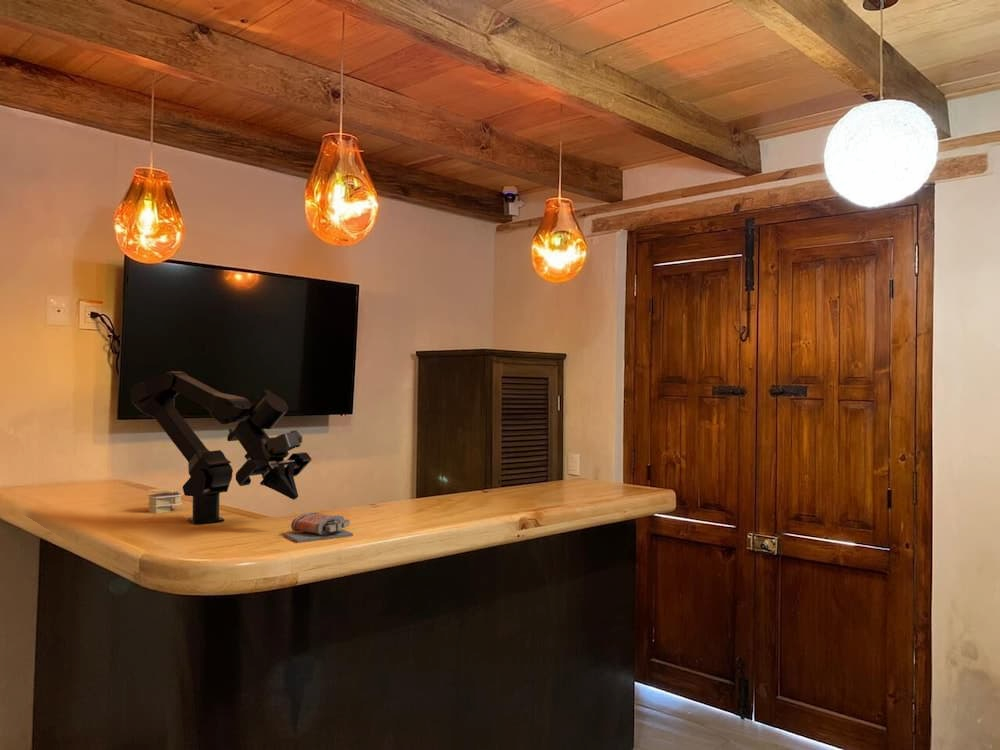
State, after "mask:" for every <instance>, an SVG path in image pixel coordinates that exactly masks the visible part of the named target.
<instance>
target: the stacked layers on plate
mask: <svg viewBox="0 0 1000 750" xmlns="http://www.w3.org/2000/svg"><path fill="white" fill-rule="evenodd" d="M179 490H183V487H182V488H181V487H160V488H153V489H148V490H147V491H149V492H154V493H155V492H158V493H155V494H149V495H146V496H147V497H148V503H146V506H148V512H149V513H153V514H160V513H166V512H171V510H173V506H179V505H182V504H183V501H182V500H181V499H182V498H181V497H182V496H183V493H179ZM170 491H171V492H170ZM172 491H173V492H172ZM159 492H161V493H159ZM162 492H163V493H162Z"/></svg>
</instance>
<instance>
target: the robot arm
mask: <svg viewBox="0 0 1000 750" xmlns="http://www.w3.org/2000/svg"><path fill="white" fill-rule="evenodd" d="M177 395H181V396H183V397H184V398H186V399H188V400H191V401H193V402H194V403H196V404H198V405H200V406H201V407H204V408H205V409H207V410H208V413H209V416H211V417H212V418H213V419H214V420H216V421H217V422H218V423H219V424H222V425H233V424H237V425H236V426H235V427H234V428H230V429H228V434H227V438H226V439H227V441H228V442H235V441H238V442H239V444H240V445H241V446H242V448H243V449H244V451H245V452H246V454H245V455H244V456H243V457H244V458H245V460H246V461H245V462H244V463H243V464H242V466H241V467H240V468H239V469H238V470H237V471H236V473H235V481H236V482H237V484H238V485H239V487H244V486H249V485H250V484H251V483H252V479H251V476H253V477H254V476H260V475H261V478H262V480H261V481H260V482H259V484H260V486H264V487H267V488H269V489H271V490H273V491H275V492H277V493H279V494H281V495H283V496H285V497H287V498H289V499H291V500H293V501H294V500H297V498H298V497H299V492H298V490H297V487H296V482H295V478H294V477H297V476H298V475H299V474H300V473H302V471H303V470H304V469H305V468H306V467H307V466H308V465H309V463H310V462H311V461H312V458H311V456H310V454H309V453H308V452H294V453H292V454H290V453H289V451H291V450H293V449H295V448H300V447H301V445H302V442H303V435H301V434H300V433H299V432H298V431H297V430H296V429H295V430H291V431H289V432H284V433H281V434H279V435H277V436H276V437H275V436H274V437H273V436H272V437H270V436H269V435H268V433H267V432H266V431H265V429H266V430H271V429H273V428H274V427H275V426H276V424H277V423H279V421H280V420H281V418H283V417H284V415H285V414H286V413H287V412H288V411H289V406H288V403H287V402H286V401H285V400H284V399H283V398H281V397H280V396H278V395H277V394H274V393H273V392H272V391H271V390H263V391H262V392H261V393H260V394H259V396H258V397H257V399H256V400H255V401H254V402H253V403H251V402H250V401H251V400H249V399H247V398H246V397H243V396H240V395H239V396H238V395H235V394H229V393H223V392H221V391H218V390H217V389H214V388H213V387H210V385H207V384H205V383H203V382H201V381H199V380H197V379H195V378H193V377H192V376H189V374H187V373H185V372H183V371H167V372H164V373H163V374H161V375H159V376H156V377H153V378H150V379H148V380H146V381H145V380H144V381H143V382H137V383H135V385H134V386H133V387H132V389H131V391H130V401H131V402H132V404H133V405H134V406H135V407H136V408H137V409H138V410H139V411H140V412H142V413H144V414H145V415H148V416H149V417H152V418H153V419H155V421H156V422H157V423H158V425H159V426H160V427H161V428H162V429H163V431H164V432H165V434H166V435H167V436H168V438H169V439H170V440H171V441H172V443H173V444H174V446H176V448H177V449H178V450H179V452H180V453H181V454H182V457H184V458H185V460H186V461H187V463H188V475H189V478H188V479H187V480H186V482H185V483H184V484H183V485H182V491H183V494H184V496H185V497H192V514H191V515H192V516H191V517H189V516H188V517H187V520H188V522H191V523H192V524H193V525H194V524H195V525H199V524H201V525H202V524H210V523H218V522H219V523H220V522H224V521H225V518H223V517H221V516H220V496H221V495H220V493H227V492H228V491H229V487H230V484H231V481H232V479H233V472H234V470H233V467H232V465H230V464H231V463H232V461H230V459H228V458H227V457H226V455H225V454H224V452H223V451H222V450H220V449H217V450H209V449H208V448H207V447H206V446H205V445H204V443H203V442H202V441H201V439H200V438H199V436H198V435H197V434H196V432H195V431H194V430H193V429H192V428H191V426H190V425H189V424H188V423H187V421H186V420H185V419H184V417H183V416H182V415H181V414H180V412H179V411H178V410H177V408H176V407H175V397H177ZM289 455H290V456H289ZM288 456H289V457H288ZM287 457H288V459H285V458H287Z"/></svg>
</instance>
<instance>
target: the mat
mask: <svg viewBox="0 0 1000 750" xmlns="http://www.w3.org/2000/svg"><path fill="white" fill-rule="evenodd" d="M285 536H286V537H285ZM351 536H352V537H353V536H354V533H353V532H351V531H349V530H346V529H344V528H341V530H340V531H336V532H334V533H331V534H327V535H318V534H317V533H311V532H303V531H300V532H292V533H291V532H290V533H285V534H284V537H285V538H287V537H288V538H287V539H289V538H290V539H289V540H291V539H292V540H291V541H293V542H295V543H306V542H314V541H321V540H328V539H337V538H339V539H340V538H346V537H351Z"/></svg>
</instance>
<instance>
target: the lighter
mask: <svg viewBox="0 0 1000 750" xmlns="http://www.w3.org/2000/svg"><path fill="white" fill-rule="evenodd" d="M350 525H351V521H350V519H345V517H344V516H343V515H337V514H336V515H331V514H322V513H321V514H320V513H319V512H314V511H313V512H306V513H303V514H300V515H298V516H297V517H295V518H294V519H292V521H291V524H290V528H291V530H292V531H293V532H295V533H298V532H311V533H317V534H318V535H327V534H331V533H334V532H336V531H340V530H341V529H344V528H347V527H349V526H350Z"/></svg>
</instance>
